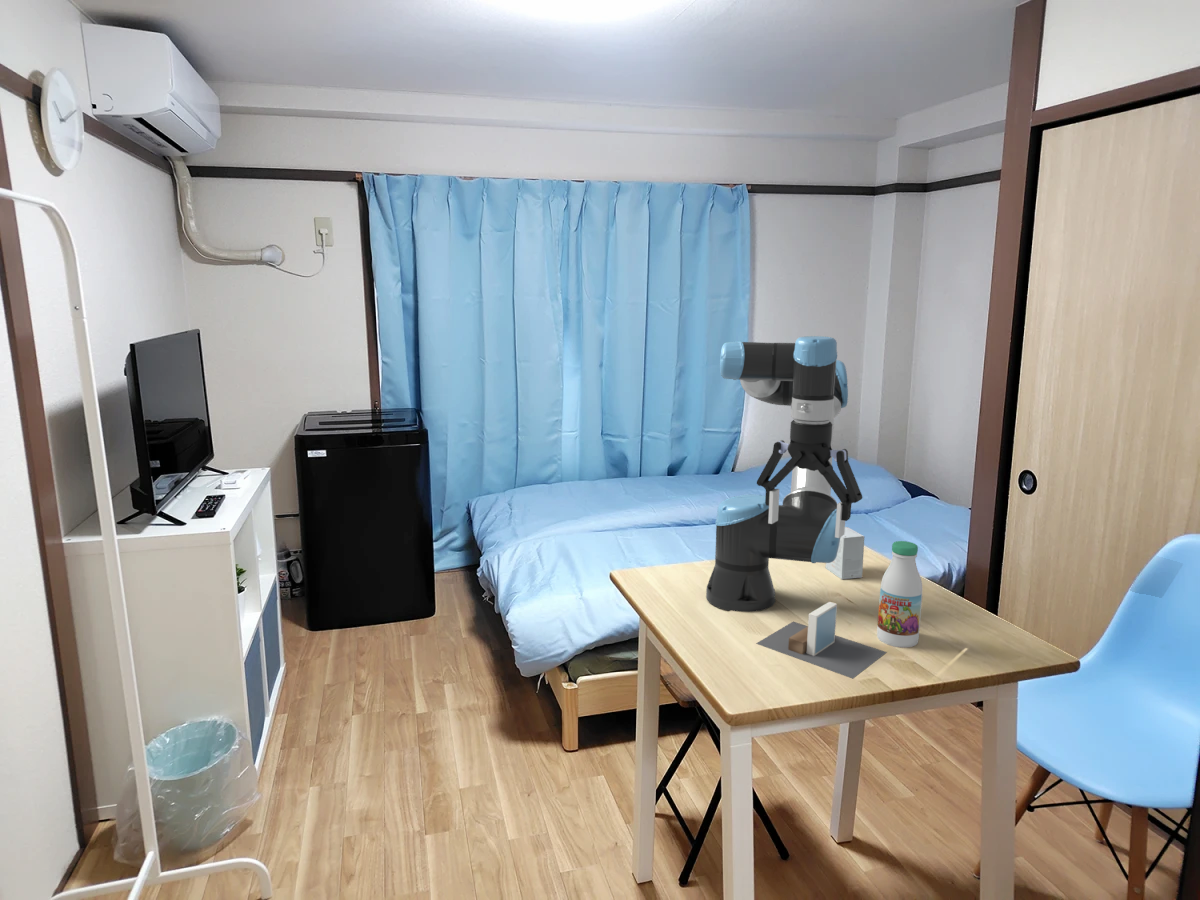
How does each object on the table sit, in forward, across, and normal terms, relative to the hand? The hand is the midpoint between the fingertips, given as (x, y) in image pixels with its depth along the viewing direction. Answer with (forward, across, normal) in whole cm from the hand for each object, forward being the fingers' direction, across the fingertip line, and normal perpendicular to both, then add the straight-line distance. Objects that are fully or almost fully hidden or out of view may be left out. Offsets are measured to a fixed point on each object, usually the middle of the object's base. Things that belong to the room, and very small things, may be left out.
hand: (805, 528), depth 150 cm
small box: (+24, -7, +40) cm, 47 cm away
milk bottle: (+23, +16, +11) cm, 30 cm away
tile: (+22, +6, -2) cm, 23 cm away
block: (+22, +3, -2) cm, 22 cm away
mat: (+23, +6, -2) cm, 23 cm away
